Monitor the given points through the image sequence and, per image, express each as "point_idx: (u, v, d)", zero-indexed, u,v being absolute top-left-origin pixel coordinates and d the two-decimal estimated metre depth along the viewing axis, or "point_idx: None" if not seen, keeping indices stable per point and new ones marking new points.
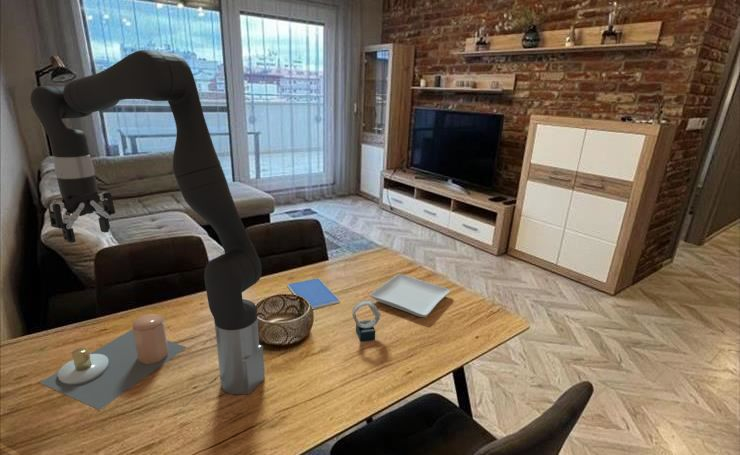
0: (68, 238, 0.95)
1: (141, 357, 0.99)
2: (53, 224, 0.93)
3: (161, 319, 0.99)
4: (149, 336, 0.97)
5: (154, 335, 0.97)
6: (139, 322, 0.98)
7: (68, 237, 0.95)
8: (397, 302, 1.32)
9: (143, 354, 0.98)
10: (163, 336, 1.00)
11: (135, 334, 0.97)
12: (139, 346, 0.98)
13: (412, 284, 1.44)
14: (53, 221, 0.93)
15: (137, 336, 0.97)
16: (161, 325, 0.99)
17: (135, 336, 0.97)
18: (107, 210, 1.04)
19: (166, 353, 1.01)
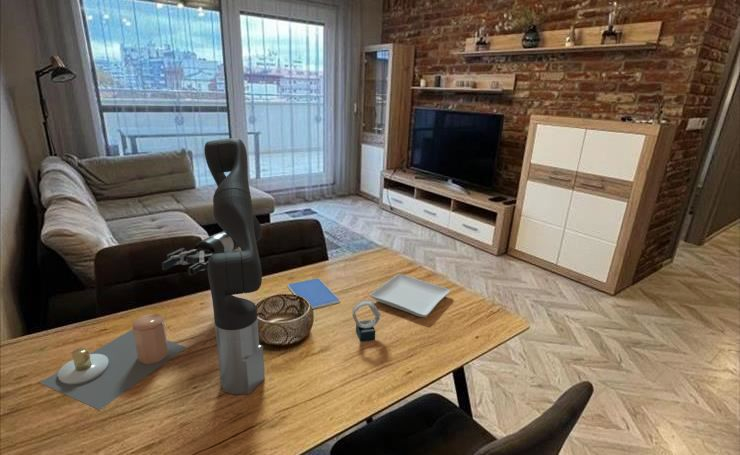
0: (163, 262, 1.08)
1: (141, 357, 0.99)
2: None
3: (161, 319, 0.99)
4: (149, 336, 0.97)
5: (154, 335, 0.97)
6: (139, 322, 0.98)
7: (164, 261, 1.08)
8: (397, 302, 1.32)
9: (143, 354, 0.98)
10: (163, 336, 1.00)
11: (135, 334, 0.97)
12: (139, 346, 0.98)
13: (412, 284, 1.44)
14: None
15: (137, 336, 0.97)
16: (161, 325, 0.99)
17: (135, 336, 0.97)
18: None
19: (166, 353, 1.01)
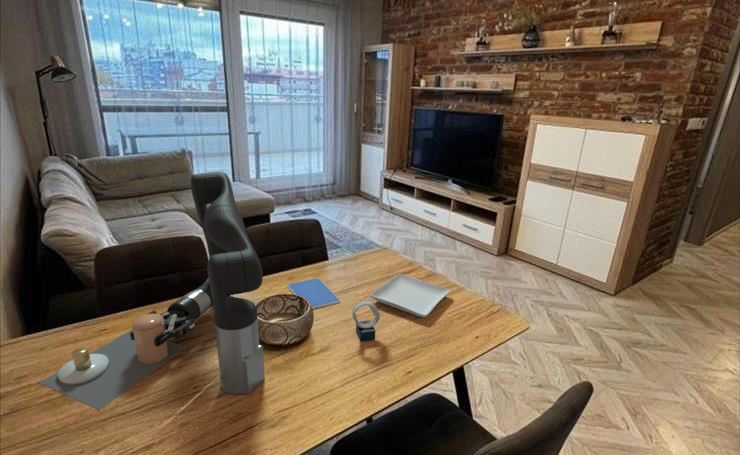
0: None
1: (141, 357, 0.99)
2: None
3: (161, 319, 0.99)
4: (149, 336, 0.97)
5: (154, 335, 0.97)
6: (139, 322, 0.98)
7: None
8: (397, 302, 1.32)
9: (142, 354, 0.98)
10: None
11: (135, 334, 0.97)
12: (139, 346, 0.98)
13: (412, 284, 1.44)
14: None
15: (137, 336, 0.97)
16: (161, 325, 0.99)
17: (135, 336, 0.97)
18: None
19: (166, 353, 1.01)
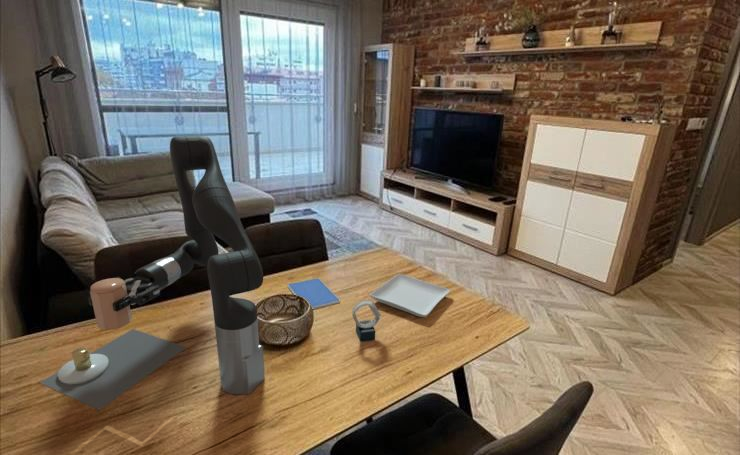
0: None
1: (100, 323, 0.92)
2: None
3: (122, 283, 0.93)
4: (107, 300, 0.90)
5: (113, 299, 0.91)
6: (97, 285, 0.92)
7: None
8: (397, 302, 1.32)
9: (101, 320, 0.92)
10: None
11: (93, 298, 0.90)
12: (97, 311, 0.91)
13: (412, 284, 1.44)
14: None
15: (95, 300, 0.90)
16: (121, 289, 0.92)
17: (93, 300, 0.91)
18: None
19: (128, 320, 0.95)
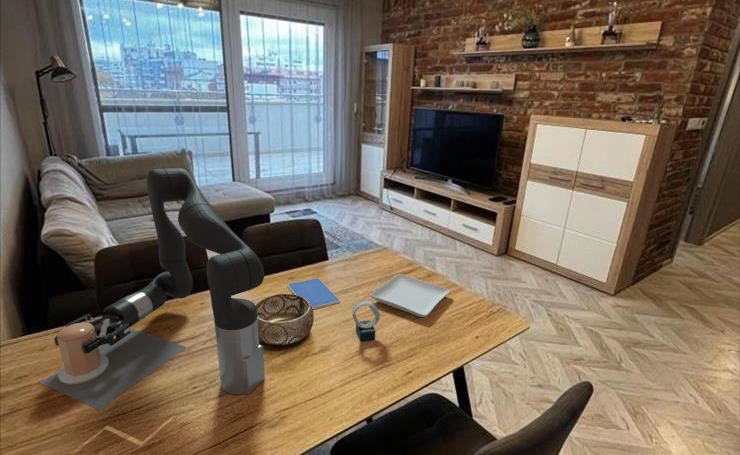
0: None
1: (68, 369, 0.92)
2: None
3: (90, 328, 0.93)
4: (75, 347, 0.90)
5: (81, 345, 0.91)
6: (65, 332, 0.91)
7: None
8: (397, 302, 1.32)
9: (69, 366, 0.91)
10: None
11: (60, 345, 0.90)
12: (65, 358, 0.91)
13: (412, 284, 1.44)
14: None
15: (62, 347, 0.90)
16: (89, 335, 0.92)
17: (60, 347, 0.90)
18: None
19: (97, 364, 0.95)
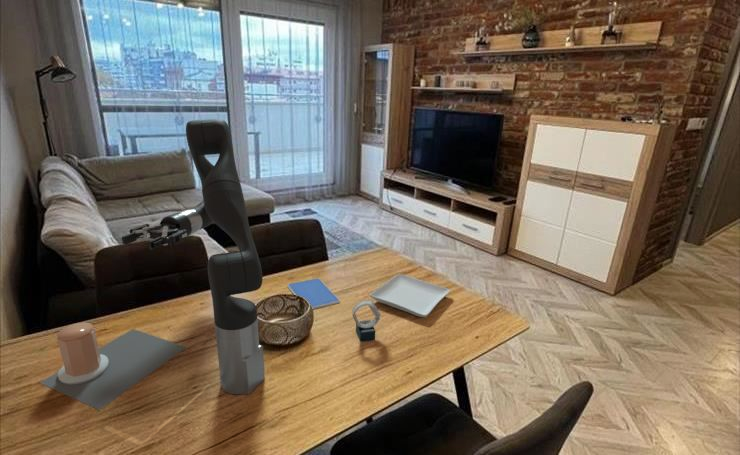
0: None
1: (68, 369, 0.92)
2: None
3: (90, 328, 0.93)
4: (75, 347, 0.90)
5: (81, 345, 0.91)
6: (65, 332, 0.91)
7: (125, 236, 1.04)
8: (397, 302, 1.32)
9: (69, 366, 0.91)
10: (92, 346, 0.93)
11: (60, 345, 0.90)
12: (65, 358, 0.91)
13: (412, 284, 1.44)
14: None
15: (62, 347, 0.90)
16: (89, 335, 0.92)
17: (60, 347, 0.90)
18: None
19: (97, 364, 0.95)
